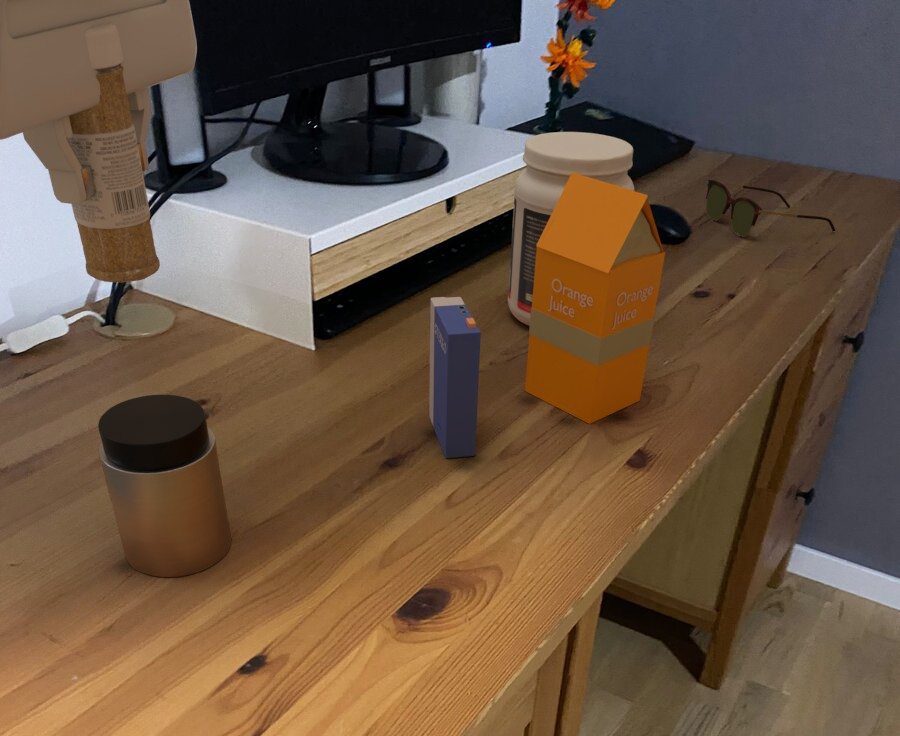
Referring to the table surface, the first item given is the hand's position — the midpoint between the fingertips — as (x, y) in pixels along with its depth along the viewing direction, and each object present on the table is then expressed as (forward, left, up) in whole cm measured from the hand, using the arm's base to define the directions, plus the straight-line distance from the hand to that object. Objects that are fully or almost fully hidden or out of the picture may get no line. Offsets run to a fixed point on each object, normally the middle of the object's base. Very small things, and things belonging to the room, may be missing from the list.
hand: (104, 187), depth 54 cm
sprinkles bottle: (0, 0, -5) cm, 5 cm away
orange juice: (+25, +34, -26) cm, 50 cm away
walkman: (+15, +22, -26) cm, 38 cm away
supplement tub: (+19, +53, -26) cm, 63 cm away
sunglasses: (+41, +97, -26) cm, 109 cm away
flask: (0, -1, -26) cm, 26 cm away
